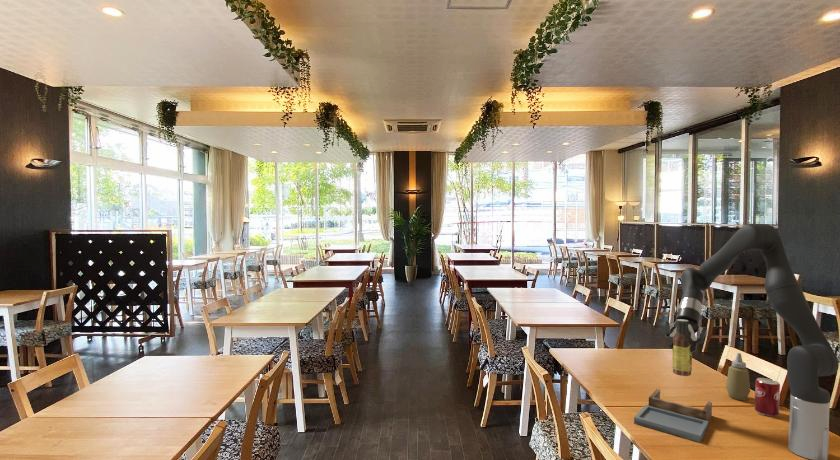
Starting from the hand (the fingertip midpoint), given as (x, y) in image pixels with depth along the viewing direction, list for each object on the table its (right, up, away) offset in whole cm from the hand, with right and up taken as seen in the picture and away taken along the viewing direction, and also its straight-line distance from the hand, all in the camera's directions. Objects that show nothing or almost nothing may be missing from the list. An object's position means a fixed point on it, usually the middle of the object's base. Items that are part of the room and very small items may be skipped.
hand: (681, 349), depth 167 cm
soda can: (+33, -24, +2) cm, 41 cm away
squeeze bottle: (+32, -24, +17) cm, 43 cm away
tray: (-9, -24, -9) cm, 27 cm away
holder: (0, -24, +2) cm, 24 cm away
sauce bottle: (+1, -9, +1) cm, 10 cm away
